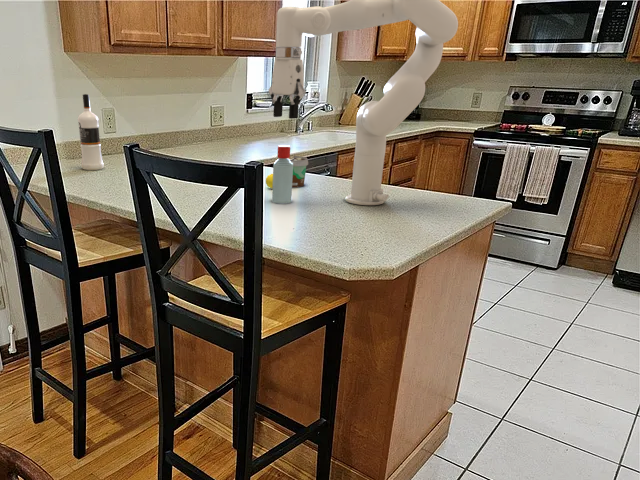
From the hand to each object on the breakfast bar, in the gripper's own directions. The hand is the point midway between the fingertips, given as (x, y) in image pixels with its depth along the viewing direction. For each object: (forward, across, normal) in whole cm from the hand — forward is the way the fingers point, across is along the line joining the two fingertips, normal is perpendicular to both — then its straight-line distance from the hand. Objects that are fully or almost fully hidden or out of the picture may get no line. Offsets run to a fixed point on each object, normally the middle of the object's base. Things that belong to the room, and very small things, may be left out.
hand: (285, 117), depth 164 cm
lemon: (+27, +17, -11) cm, 34 cm away
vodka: (+27, +92, +27) cm, 100 cm away
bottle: (+27, 0, 0) cm, 27 cm away
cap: (+12, 0, 0) cm, 12 cm away
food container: (+27, +16, -23) cm, 39 cm away
